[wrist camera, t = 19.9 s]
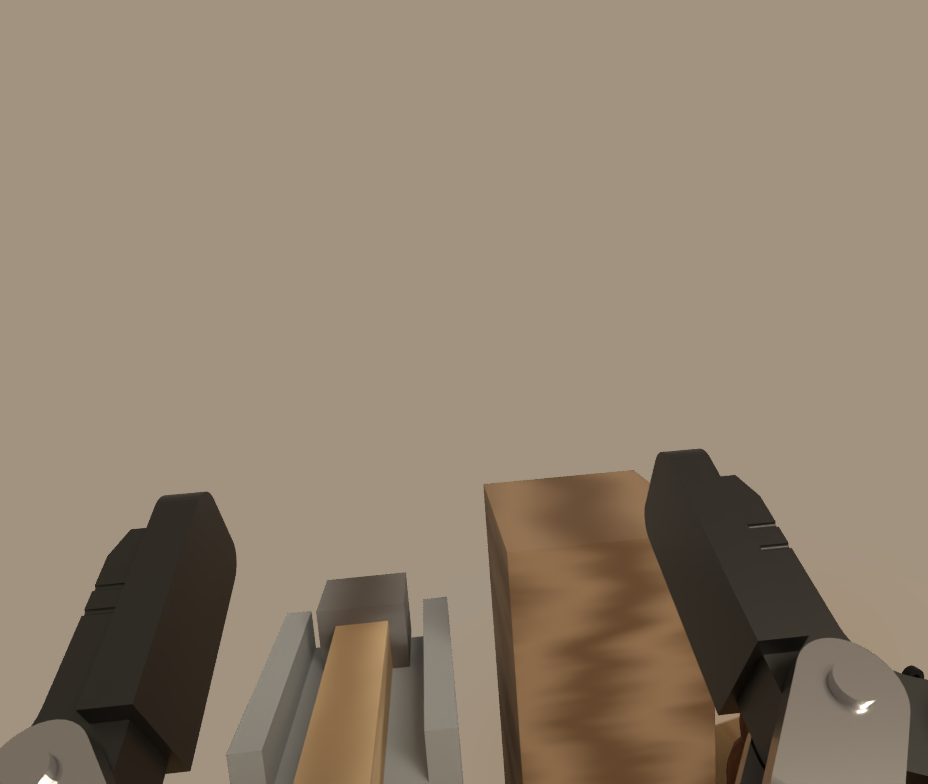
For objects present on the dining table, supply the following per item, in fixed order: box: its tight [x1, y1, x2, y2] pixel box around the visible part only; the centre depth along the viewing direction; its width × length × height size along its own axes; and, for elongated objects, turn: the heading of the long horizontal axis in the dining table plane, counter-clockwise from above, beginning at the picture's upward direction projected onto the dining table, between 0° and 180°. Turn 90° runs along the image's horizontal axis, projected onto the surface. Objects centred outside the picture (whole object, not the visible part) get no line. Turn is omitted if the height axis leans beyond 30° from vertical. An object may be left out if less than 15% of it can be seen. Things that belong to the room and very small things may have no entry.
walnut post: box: [484, 470, 716, 784], centre depth 37 cm, size 10×11×30 cm
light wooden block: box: [293, 573, 411, 784], centre depth 29 cm, size 5×20×4 cm, turn 4°
